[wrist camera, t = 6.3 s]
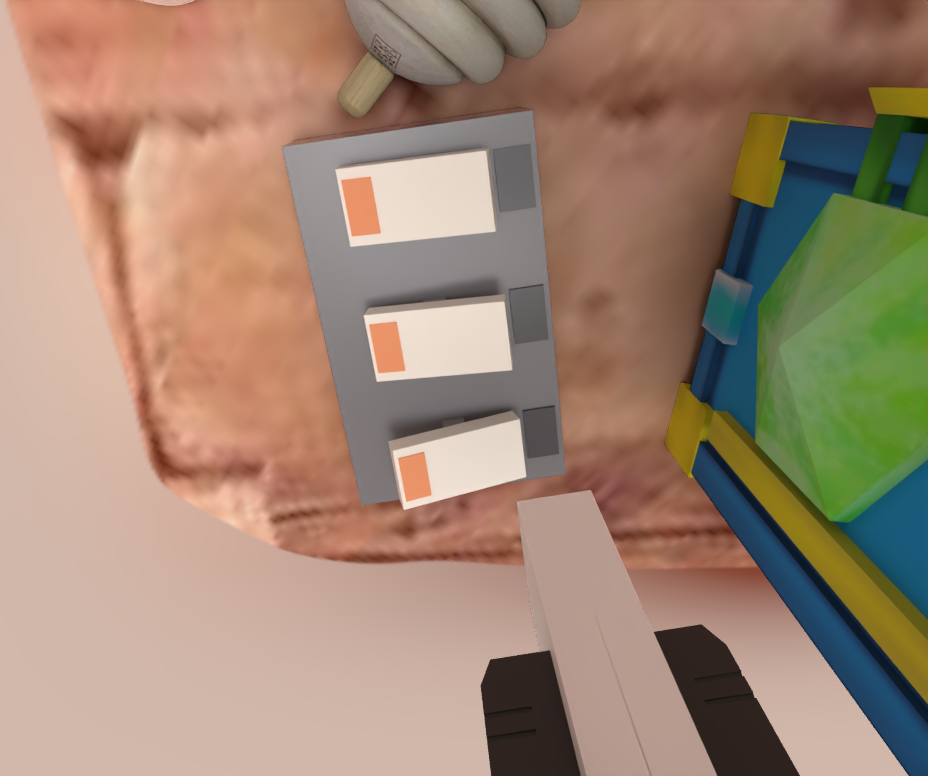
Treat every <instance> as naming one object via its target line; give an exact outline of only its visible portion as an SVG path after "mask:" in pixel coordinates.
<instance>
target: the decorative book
mask: <svg viewBox="0 0 928 776" xmlns="http://www.w3.org/2000/svg"><path fill="white" fill-rule="evenodd" d="M868 89H869V92H870V95H871V99H872V102H873V105H874V109H875V112H876V113H877V114H878V115H877V118H876V121H875V124H874V128H873V129H871V128H862V127H852V126H842V125H839V123H832V122H825V121H818V120H811V119H804V118H797V117H790V116H780V115H769V114H758V113H750V117H749V121H748V125H747V129H746V133H745V136H744V140H743V144H742V148H741V152H740V156H739V159H738V163H737V167H736V171H735V175H734V179H733V182H732V186H731V190H730V195H733V196H735V197H738V198H741V200H740V204H739V207H738V211H737V215H736V219H735V222H734V226H733V230H732V234H731V237H730V241H729V245H728V249H727V252H726V256H725V260H724V264H723V267H722V269H716V273H715V276H714V280H713V284H712V288H711V291H710V295H709V299H708V303H707V306H706V310H705V314H704V318H703V322H702V326H703V327H704V328H705V329H706V331H705V335H704V338H703V342H702V346H701V350H700V353H699V357H698V361H697V364H696V368H695V372H694V376H693V379H692V383H691V384H687V383H683V382H680V386H679V389H678V393H677V397H676V401H675V405H674V409H673V412H672V416H671V420H670V424H669V428H668V431H667V435H666V439H665V443H664V444H665V445H666V447H667V448H668V450H669V451H670V452H671V454H672V455H673V457H674V458H675V460H676V461H677V462H678V464H679V465H680V467H681V468H682V470H683V471H684V472H685V474H686V475H687V477H690V478H695V479H696V480H697V482H698V483H699V485H700V486H701V487H702V489H703V490H704V491H705V493H706V494H707V496H708V497H709V498H710V500H711V501H712V503H713V504H714V505H715V507H716V508H717V510H718V511H719V512H720V514H721V515H722V517H723V518H724V519H725V521H726V522H727V523H728V525H729V526H730V528H731V529H732V530H733V532H734V533H735V535H736V536H737V537H738V539H739V540H740V542H741V543H742V544H743V546H744V547H745V549H746V550H747V551H748V553H749V554H750V555H751V557H752V558H753V560H754V561H755V562H756V564H757V565H758V567H759V568H760V569H761V571H762V572H763V573H764V575H765V576H766V578H767V579H768V580H769V582H770V583H771V585H772V586H773V587H774V589H775V590H776V592H777V593H778V594H779V596H780V597H781V599H782V600H783V601H784V603H785V604H786V606H787V607H788V608H789V610H790V611H791V613H792V614H793V615H794V617H795V618H796V619H797V621H798V622H799V623H800V625H801V626H802V628H803V629H804V631H805V632H806V633H807V635H808V636H809V638H810V639H811V640H812V642H813V643H814V645H815V646H816V647H817V649H818V650H819V651H820V653H821V654H822V656H823V657H824V658H825V660H826V661H827V663H828V664H829V665H830V667H831V668H832V670H833V671H834V672H835V674H836V675H837V676H838V678H839V679H840V681H841V682H842V683H843V685H844V686H845V688H846V689H847V690H848V691H849V693H850V694H851V696H852V697H853V699H854V700H855V701H856V703H857V704H858V706H859V707H860V709H861V710H862V711H863V713H864V714H865V715H866V717H867V718H868V720H869V721H870V722H871V724H872V725H873V727H874V728H875V729H876V731H877V732H878V734H879V735H880V736H881V738H882V739H883V740H884V742H885V743H886V745H887V746H888V747H889V749H890V750H891V752H892V753H893V754H894V756H895V757H896V759H897V760H898V761H899V763H900V764H901V766H902V767H903V768H904V770H905V771H906V772H907V774H908V775H909V776H928V88H889V87H868Z"/></svg>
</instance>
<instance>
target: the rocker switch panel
mask: <svg viewBox="0 0 928 776" xmlns="http://www.w3.org/2000/svg"><path fill="white" fill-rule="evenodd" d="M488 147H489V152H490V161H491V169H492V178H493V187H494V195H495V204H496V213H497V222H498V227H497V230H496V232H487V233H478V234H468V235H459V236H449V237H440V238H430V239H421V240H411V241H402V242H392V243H383V244H373V245H364V246H354V247H350V242H349V237H348V232H347V226H346V221H345V216H344V211H343V206H342V201H341V196H340V191H339V186H338V181H337V176H336V171H335V169H337V168H339V167H342V166H346V165H354V164H362V163H370V162H378V161H385V160H393V159H401V158H409V157H417V156H425V155H433V154H441V153H449V152H457V151H464V150H472V149H480V148H488ZM282 150H283V154H284V159H285V163H286V167H287V172H288V176H289V181H290V185H291V190H292V194H293V199H294V203H295V208H296V212H297V217H298V221H299V226H300V230H301V235H302V239H303V244H304V248H305V253H306V257H307V262H308V266H309V271H310V275H311V280H312V284H313V289H314V293H315V298H316V302H317V307H318V311H319V316H320V320H321V325H322V329H323V334H324V338H325V343H326V347H327V352H328V356H329V361H330V365H331V370H332V374H333V379H334V383H335V388H336V392H337V397H338V401H339V406H340V410H341V415H342V419H343V424H344V428H345V433H346V437H347V442H348V446H349V451H350V455H351V460H352V464H353V468H354V473H355V477H356V482H357V486H358V491H359V495H360V500H361V504H362V505H367V504H374V503H380V502H387V501H393V500H400V498H399V493H398V488H397V483H396V478H395V473H394V468H393V463H392V458H391V453H390V448H389V443H388V441H392V440H396V439H400V438H404V437H408V436H412V435H416V434H420V433H424V432H428V431H432V430H436V429H440V428H444V427H448V426H452V425H456V424H460V423H464V422H468V421H472V420H476V419H480V418H484V417H488V416H492V415H496V414H500V413H504V412H508V411H513V412H514V413H515V414H516V415H517V417H518V418H519V419H520V426H521V435H522V443H523V452H524V461H525V469H526V477H524V478H521V479H517V480H513V481H510V482H506V483H511V482H517V481H524V480H531V479H537V478H544V477H550V476H557V475H563V474H566V471H565V460H564V449H563V438H562V426H561V415H560V404H559V393H558V382H557V371H556V360H555V349H554V338H553V327H552V316H551V305H550V294H549V282H548V271H547V260H546V249H545V238H544V227H543V216H542V205H541V194H540V183H539V172H538V161H537V150H536V138H535V127H534V116H533V110H531V109H526V108H522V107H519V108H512V109H506V110H499V111H492V112H485V113H478V114H471V115H465V116H458V117H451V118H444V119H437V120H431V121H424V122H417V123H410V124H403V125H397V126H390V127H383V128H376V129H369V130H363V131H356V132H349V133H342V134H335V135H329V136H322V137H315V138H308V139H301V140H294V141H292V142H290V143H289V144H287V145H285V146H283V147H282ZM501 294H506V302H507V310H508V319H509V328H510V336H511V345H512V354H513V370H509V371H498V372H486V373H474V374H462V375H451V376H439V377H427V378H416V379H404V380H392V381H380V382H377V380H376V375H375V370H374V365H373V360H372V355H371V350H370V345H369V340H368V335H367V330H366V325H365V320H364V314H365V313H366V311H367V310H368V308H372V307H382V306H392V305H402V304H412V303H422V302H432V301H442V300H452V299H462V298H472V297H482V296H492V295H501ZM502 484H504V483H502Z"/></svg>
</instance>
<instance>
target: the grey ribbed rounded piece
mask: <svg viewBox="0 0 928 776" xmlns="http://www.w3.org/2000/svg"><path fill="white" fill-rule="evenodd" d="M344 1H345V5H346V9H347V12H348V14H349V17H350V19H351V22H352V24H353V27H354V29H355V31H356V32H357V34H358V36H359V37H360V39H361V40H362V42H363V43H364V45H365V46H366V48H367V50H368V51H367V53H366V54H365V56H364V57H363V58H362V60H361V61H360V62H359V64H358V65H357V66H356V68H355V69H354V70H353V72H352V73H351V75H350V76H349V77H348V79H347V80H346V81H345V83H344V84H343V86H342V87H341V88H340V90H339V92H338V96H337V99H338V102H339V104H340V105H341V106H342V107H343V108H344V109H345V110H346V111H347V112H348V113H350V114H351V115H352V116H354V117H357V118H358V117H363V116H364V115H365V114H367V113H368V111H369V110H370V109H371V107H372V106H373V105H374V103H375V102H376V101H377V99H378V98H379V97H380V96H381V94H382V93H383V92H384V90H385V89H386V88H387V86H388V85H389V84H390V82H391V81H392V80H393V77H394V75H395V74H397V75H400V76H402V77H404V78H406V79H409V80H412V81H415V82H418V83H423V84H429V85H454V84H457V83H459V82H460V81H461V80H462V77H463V76H465V77H466V78H468V79H469V80H471V81H472V82H474V83H477V84H484V83H488V82H490V81H492V80H494V79H495V78H496V77H497V76H498V75H499V73H500V72H501V70H502V67H503V65H504V58H505V55H504V52H505V53H507V54H509V55H511V56H514V57H516V58H521V59H528V58H531V57H533V56H535V55H536V54H537V53H538V52H539V51H540V50H541V49H542V47H543V45H544V43H545V41H546V35H547V34H546V28H551V29H553V28H561V27H564V26H566V25H568V24H569V23H570V22H571V21H573V19H574V18H575V17H576V15H577V13H578V11H579V8H580V3H581V0H344Z"/></svg>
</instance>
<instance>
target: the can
mask: <svg viewBox="0 0 928 776" xmlns="http://www.w3.org/2000/svg"><path fill="white" fill-rule="evenodd" d="M140 1H144V2H148V3H152V4H157V5H165V6H178V5H183V4H187V3H190V2H193V1H195V0H140Z"/></svg>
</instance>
